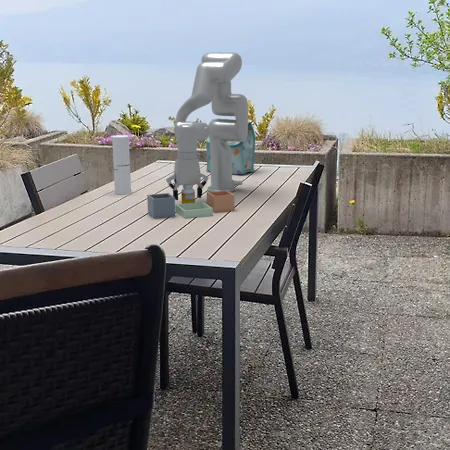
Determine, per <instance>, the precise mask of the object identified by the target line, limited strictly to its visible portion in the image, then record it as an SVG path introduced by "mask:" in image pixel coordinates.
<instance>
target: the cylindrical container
mask: <svg viewBox="0 0 450 450" xmlns="http://www.w3.org/2000/svg"><path fill="white" fill-rule="evenodd" d="M129 138H130V136H129V135H127V134H125V135H124V134H119V135H117V134H116V135H112V136H111V141H112V142H111V143H112V144H111V145H112V162H113V179H114V181H113V182H114V194H116V195H120V194H121V195H129V194H131V193H132V182H131V181H132V179H131V178H132V177H131V176H132V175H131V158H130V153H131V152H130V139H129Z"/></svg>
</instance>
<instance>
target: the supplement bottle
mask: <svg viewBox="0 0 450 450" xmlns="http://www.w3.org/2000/svg"><path fill="white" fill-rule="evenodd" d="M180 193H181V197H180V198H181V204H187V203H196V190H195V189H194V184H192V185H182V189H181V192H180Z"/></svg>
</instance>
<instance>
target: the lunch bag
mask: <svg viewBox="0 0 450 450" xmlns="http://www.w3.org/2000/svg"><path fill="white" fill-rule="evenodd" d="M215 119H216V118H213V119H211V121H212V120H215ZM217 119H220V118H217ZM211 121H210V122H211ZM253 126H254V125H253V124H252V122H250V121H248V134H247V138H246V140H244V141H242V142H231V141H227V143H228V144H229V146H230V147H231V150H232V175H244V174H246V173H249V172H251V173H254V172H255V167H254V166H255V152H256V151H255V150H256V149H255V146H256V134H255V130H254V127H253ZM205 142H206V143H205V145H206V146H205V147H206V150H205V152H206V172H208V173H211V156H210V140H209V137H208V138H207V139H206V140H205Z"/></svg>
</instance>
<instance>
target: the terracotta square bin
mask: <svg viewBox="0 0 450 450" xmlns="http://www.w3.org/2000/svg"><path fill="white" fill-rule="evenodd" d="M206 204H207V205H208V206H210V207H211V208H213V213H222V212H223V213H225V212H233V211H235V193H232V192H228V191H216V192H210V191H207V192H206Z"/></svg>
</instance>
